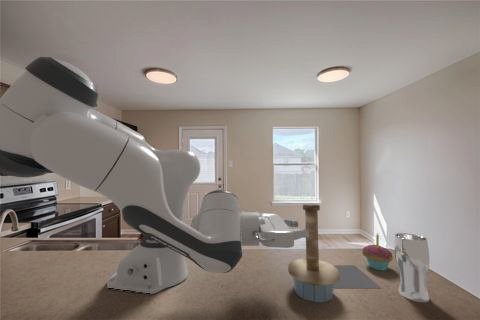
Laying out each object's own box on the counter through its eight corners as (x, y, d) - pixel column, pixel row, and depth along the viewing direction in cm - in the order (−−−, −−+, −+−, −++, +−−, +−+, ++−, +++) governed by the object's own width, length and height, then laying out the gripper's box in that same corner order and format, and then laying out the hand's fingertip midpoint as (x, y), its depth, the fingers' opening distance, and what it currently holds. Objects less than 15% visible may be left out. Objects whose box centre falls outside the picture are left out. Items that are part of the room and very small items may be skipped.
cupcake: (397, 275, 64) (395, 235, 65) (366, 271, 67) (364, 233, 68) (388, 264, 73) (386, 228, 73) (360, 260, 75) (358, 226, 76)
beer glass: (439, 306, 50) (435, 241, 51) (405, 302, 51) (402, 240, 52) (420, 290, 57) (417, 233, 57) (391, 287, 58) (388, 232, 59)
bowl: (299, 303, 51) (299, 282, 52) (290, 281, 61) (290, 264, 62) (340, 303, 51) (339, 282, 52) (324, 281, 61) (324, 264, 61)
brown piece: (294, 285, 50) (292, 209, 51) (283, 262, 63) (282, 201, 64) (349, 285, 50) (346, 209, 51) (327, 262, 63) (325, 201, 64)
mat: (330, 289, 57) (330, 288, 57) (313, 266, 71) (313, 265, 71) (382, 289, 57) (382, 288, 57) (354, 266, 71) (354, 265, 71)
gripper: (254, 227, 48) (315, 226, 48) (250, 210, 68) (292, 209, 68) (255, 255, 47) (316, 254, 47) (250, 229, 68) (293, 229, 68)
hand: (302, 228), depth 58 cm, fingers open, 8 cm apart
